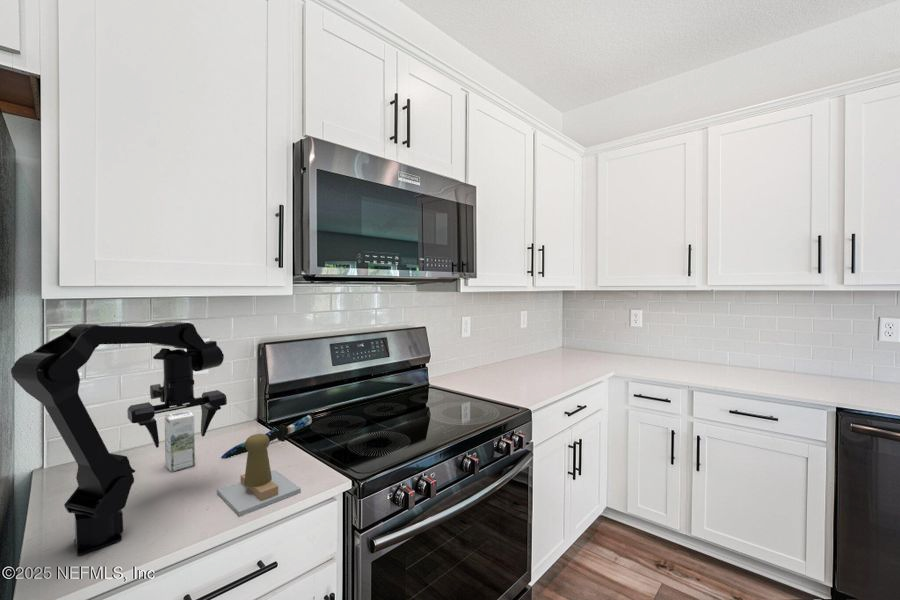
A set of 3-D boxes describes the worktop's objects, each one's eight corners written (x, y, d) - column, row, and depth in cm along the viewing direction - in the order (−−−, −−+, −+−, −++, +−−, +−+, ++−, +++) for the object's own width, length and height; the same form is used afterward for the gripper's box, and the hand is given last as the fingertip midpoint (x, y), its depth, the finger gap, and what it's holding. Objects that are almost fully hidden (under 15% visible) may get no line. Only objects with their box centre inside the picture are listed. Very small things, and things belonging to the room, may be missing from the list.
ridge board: (239, 516, 88) (238, 503, 88) (217, 493, 98) (216, 481, 97) (300, 492, 98) (300, 480, 98) (275, 473, 108) (275, 462, 108)
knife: (313, 424, 141) (311, 412, 140) (318, 426, 139) (316, 414, 138) (218, 464, 118) (216, 449, 117) (222, 467, 116) (220, 452, 115)
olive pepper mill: (255, 489, 94) (254, 442, 93) (238, 483, 96) (237, 437, 96) (277, 478, 99) (276, 433, 98) (260, 472, 102) (260, 429, 101)
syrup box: (189, 459, 116) (188, 409, 115) (195, 466, 112) (194, 414, 111) (165, 466, 112) (163, 414, 111) (171, 473, 108) (169, 419, 107)
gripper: (211, 364, 108) (213, 423, 108) (121, 376, 94) (124, 443, 95) (226, 371, 100) (228, 434, 101) (131, 385, 86) (133, 457, 87)
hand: (180, 441), depth 96 cm, fingers open, 9 cm apart
